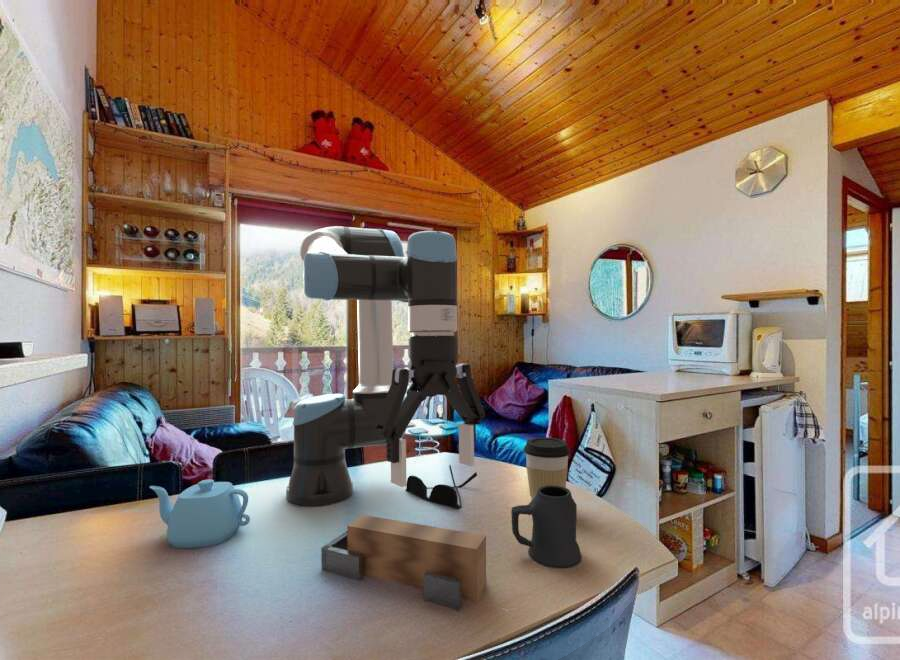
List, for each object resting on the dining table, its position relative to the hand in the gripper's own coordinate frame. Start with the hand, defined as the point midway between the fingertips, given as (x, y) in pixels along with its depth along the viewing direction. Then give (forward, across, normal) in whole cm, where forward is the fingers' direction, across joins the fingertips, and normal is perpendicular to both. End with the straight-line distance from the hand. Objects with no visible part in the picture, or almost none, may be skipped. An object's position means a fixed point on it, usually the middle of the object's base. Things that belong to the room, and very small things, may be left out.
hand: (434, 473), depth 68 cm
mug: (+18, +20, -6) cm, 27 cm away
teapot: (+12, -30, +49) cm, 58 cm away
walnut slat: (+18, -1, +4) cm, 18 cm away
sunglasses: (+17, +27, +28) cm, 43 cm away
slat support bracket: (+17, -5, +14) cm, 23 cm away
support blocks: (+17, +2, -2) cm, 18 cm away
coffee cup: (+17, +36, +5) cm, 40 cm away
